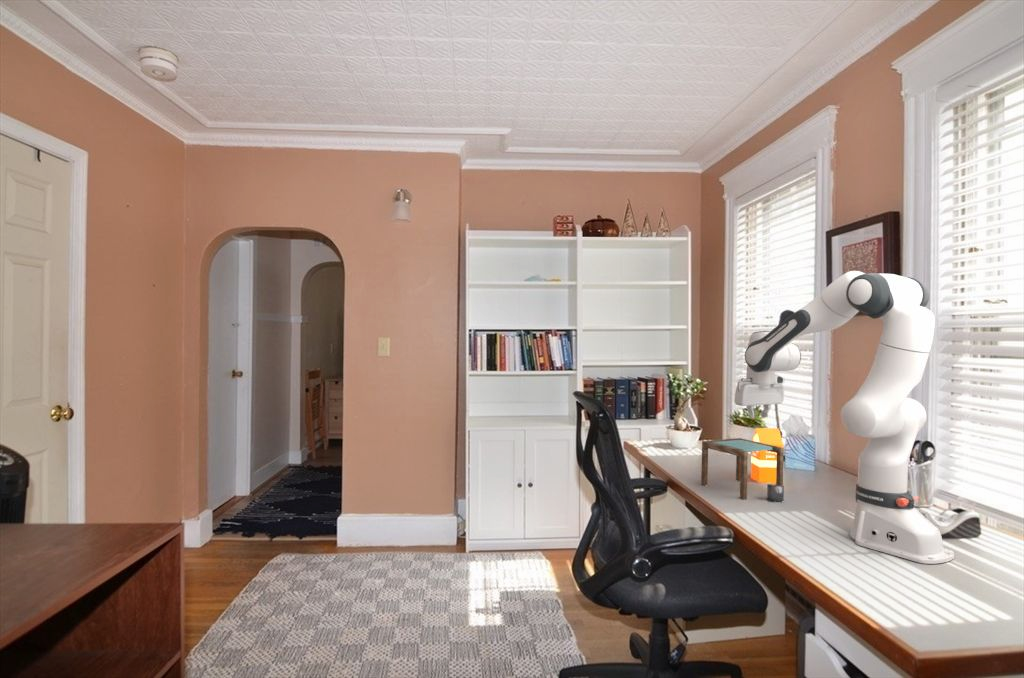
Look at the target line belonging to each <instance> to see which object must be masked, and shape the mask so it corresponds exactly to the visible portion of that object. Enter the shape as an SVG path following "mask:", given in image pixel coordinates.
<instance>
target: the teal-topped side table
mask: <svg viewBox="0 0 1024 678" xmlns="http://www.w3.org/2000/svg"><path fill="white" fill-rule="evenodd" d="M731 440H744V441H748V442H753V443H757V444H762V445H766V446H771V447H772V450H766V451H771V452H775V453H777V465H776V483H775V484H780V485H783V486H784V450H785V449H784V446H783V447H778V446H773V445H769V444H764V443H760V442H755V441H752V439H746V438H741V437H739V438H736V437H734V438H724V439H715V440H703V441H702V442H701V476H700V477H701V479H700V485H701V486H703V485H704V486H703V487H707V486H708V476H709V475H708V474H709V473H708V471H709V467H708V466H709V450H713V451H716V452H721V453H724V454H729V455H733V456H736V462H735V481H736V480H737V481H736V482H739V499H742V500H747V498H748V493H747V492H748V458H749V457H748V456H749V455H748V453H749V452H748V451H744V450H740V449H736V448H732V447H728V446H723V445H719V444H715V443H712V442H720V441H731ZM706 485H707V486H706Z"/></svg>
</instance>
